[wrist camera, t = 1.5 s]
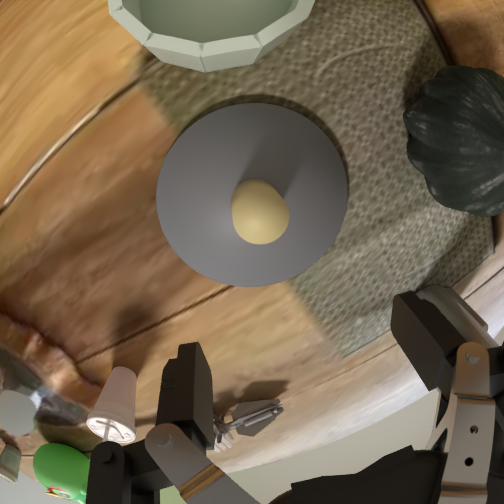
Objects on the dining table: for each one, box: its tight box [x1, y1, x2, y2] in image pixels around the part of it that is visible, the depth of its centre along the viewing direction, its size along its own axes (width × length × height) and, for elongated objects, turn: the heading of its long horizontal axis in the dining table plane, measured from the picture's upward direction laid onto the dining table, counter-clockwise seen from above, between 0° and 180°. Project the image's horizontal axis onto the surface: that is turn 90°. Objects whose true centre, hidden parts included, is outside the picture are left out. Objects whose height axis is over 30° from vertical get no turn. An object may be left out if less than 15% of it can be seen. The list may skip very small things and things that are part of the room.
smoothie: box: [87, 366, 137, 443], centre depth 30 cm, size 6×6×14 cm
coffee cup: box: [0, 444, 22, 484], centre depth 46 cm, size 8×8×12 cm
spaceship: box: [213, 399, 284, 452], centre depth 39 cm, size 8×35×8 cm
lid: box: [156, 103, 348, 287], centre depth 26 cm, size 18×18×6 cm
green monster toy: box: [33, 443, 90, 504], centre depth 42 cm, size 18×17×15 cm
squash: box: [403, 66, 504, 217], centre depth 20 cm, size 14×15×15 cm
